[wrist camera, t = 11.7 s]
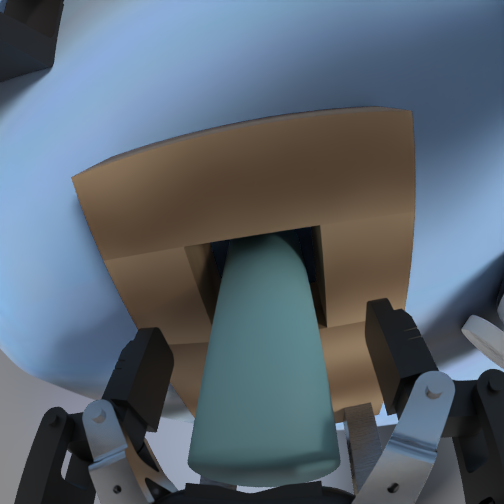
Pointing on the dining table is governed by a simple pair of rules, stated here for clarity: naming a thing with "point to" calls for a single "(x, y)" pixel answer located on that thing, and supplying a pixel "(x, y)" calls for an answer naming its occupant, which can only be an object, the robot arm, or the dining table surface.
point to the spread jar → (488, 333)
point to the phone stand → (28, 36)
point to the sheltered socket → (260, 222)
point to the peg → (264, 373)
